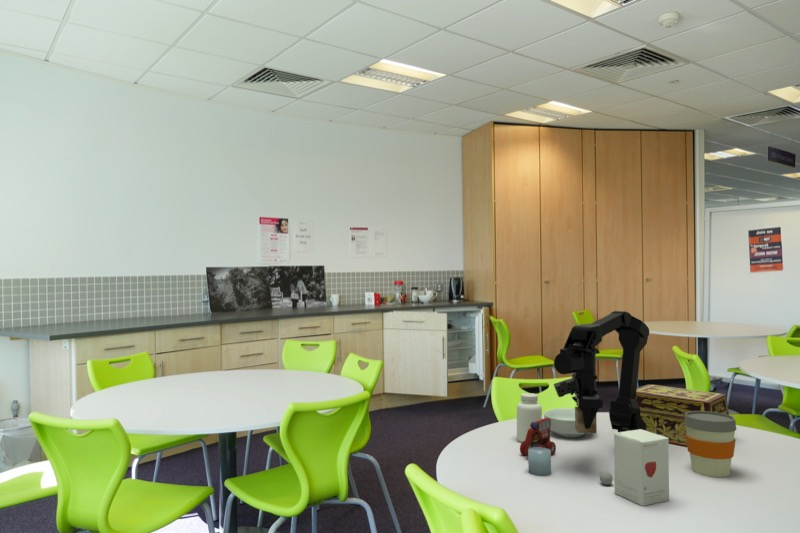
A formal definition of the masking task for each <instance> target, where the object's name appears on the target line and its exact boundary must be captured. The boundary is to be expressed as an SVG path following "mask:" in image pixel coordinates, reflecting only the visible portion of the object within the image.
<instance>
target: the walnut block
mask: <svg viewBox="0 0 800 533" xmlns="http://www.w3.org/2000/svg"><path fill="white" fill-rule="evenodd" d="M574 409H575V428H576V430H577V432H578V433H585V434H597V432H598V431H597V426H598V425H597V415H596V416H595V418H594V420H593V422H592V424H591V426H590V429H586V428H585V425H584V419H583V414H582V410H581V409H580V408H579V407H578V406H574Z"/></svg>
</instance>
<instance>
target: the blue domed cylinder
mask: <svg viewBox="0 0 800 533" xmlns="http://www.w3.org/2000/svg"><path fill="white" fill-rule="evenodd" d="M527 457H528V465H527V466H528V473H529V474H530V475H533V476H537V477H546V476H547V477H548V476H550V475H552V456H551V450H550V449H547V448H543V447H532V448H529V449H528V455H527Z"/></svg>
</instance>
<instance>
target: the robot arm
mask: <svg viewBox="0 0 800 533" xmlns="http://www.w3.org/2000/svg"><path fill="white" fill-rule="evenodd" d="M614 331H615V332H616V333H617V334H618V342H619V343H620V345H621V348H622V357H621V366H620V367H621V368H620V375H619V377H620V378H619V385H618V395H617V397H616V398H615V400H611V402H610V405H609V412H608V414H609V421H610V425H611V429H612V430H616V431H617V433H618V432H625V431H632V430H639V429H642V430H645V431H646V427H647V425H646V424H645V422H644V421H643V419H642V418H641V416H640V407H639V405H638V403H637V401H636V390H637V388H638V380H639V379H638V377H639V369H640V368H639V367H640V357H641V352H642V351H643V349H644V347H646V345H647V344H648V343H647V342H648V338H649V335H650V328H649V326H648V325H647V324H646V323H645V322H644V321H643V320H641V319H639V318H637V317H635V316H633V315H632V314H631V313H630V312H628V311H625V310H624V311H623V310H621V311H620V310H613V311H612V312H610V314H607V315H605V316H603V317H601V318H600V319H596V321H593V322H592V323H583V324H577V325H574V326H572V328H571V330H570V332H569V334H568V336H567V338H566V341H565V343H564V346H563V348H560V349H559V353H558V354H557V355H556V356H555V358H554V360H553V366H554V369H555V371H556V372H558V373H559V374H560V375H569V374H571V376H572V377H570V378H567V379H563V380H561V381H558V382H555V383H553V386H554V389H555V393H556V396H558V397H559V398H561V397H562V398H563V397H564V396H566V395H568V394H569V395H571V398H572V400H573V401H574V403H575V404H576V407H579V408H580V409H581V410H582V414H583V419H584V425H585V428H586V429H590V426H591V424H592V422H593V420H594V418H595V416H596V417H597V414H598V412H599V409H601V408H604V400H603V399H602V398H601V397H600V396H599V395H598V390H597V380H598V375H597V370H596V369H597V368H596V367H597V366H596V363H597V361H596V360H597V359H596V356H597V354H600V350H599V349H598V348H597V346H598V345H599V344H600V343H602V342H603V337H604V336H606V335H608V334H610V333H612V332H614Z"/></svg>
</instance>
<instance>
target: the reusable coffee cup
mask: <svg viewBox="0 0 800 533" xmlns="http://www.w3.org/2000/svg"><path fill="white" fill-rule="evenodd" d="M684 425H685V426H686V432H687V433H686V434H685V436H686V442H687V447H686V449H687V452H688V453H689V457H690V463H691V469H692V471H693V472H694V473H696V474H700V475H702V476H706V477H710V478H711V477H712V478H725V477H729V475H730V474H731V465H732V458H734V455H735V448H736V447H735V446H736V438H735V433H736V431H737V424H736V418H735V416H733V415H730V414H729V415H727V414H723V413H718V412H710V411H690V412H686V413H685V419H684Z"/></svg>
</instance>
